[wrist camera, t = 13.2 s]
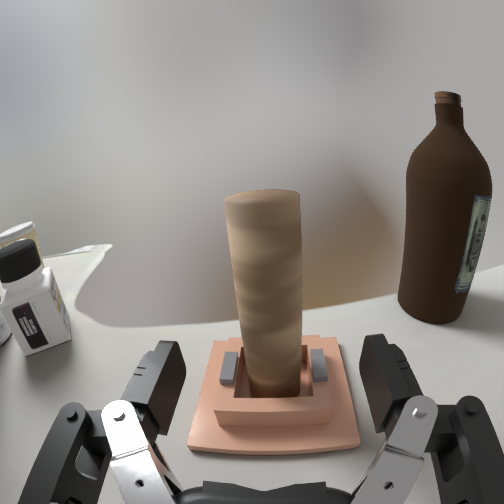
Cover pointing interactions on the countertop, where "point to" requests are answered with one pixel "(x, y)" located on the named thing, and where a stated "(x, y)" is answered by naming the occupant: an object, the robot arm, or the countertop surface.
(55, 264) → the countertop surface
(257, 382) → the tall wooden cylinder
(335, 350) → the clip base
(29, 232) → the coffee cup
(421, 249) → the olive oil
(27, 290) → the container
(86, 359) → the countertop surface
